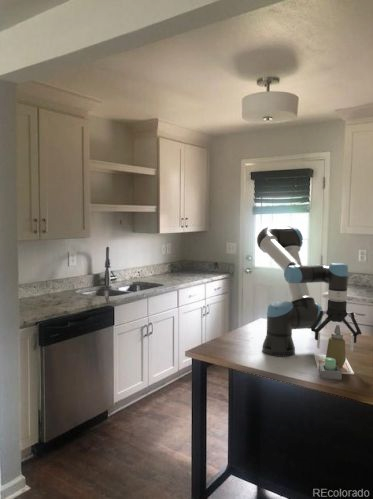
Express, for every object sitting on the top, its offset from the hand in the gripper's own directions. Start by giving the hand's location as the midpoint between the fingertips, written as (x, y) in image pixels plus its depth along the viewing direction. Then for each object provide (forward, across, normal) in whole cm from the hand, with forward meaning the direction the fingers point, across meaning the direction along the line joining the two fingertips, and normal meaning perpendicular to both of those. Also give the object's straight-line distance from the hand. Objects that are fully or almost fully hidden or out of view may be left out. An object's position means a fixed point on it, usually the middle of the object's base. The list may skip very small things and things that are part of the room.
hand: (334, 348), depth 181 cm
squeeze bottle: (+8, 0, 0) cm, 8 cm away
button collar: (+8, -3, -10) cm, 13 cm away
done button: (+7, -3, -10) cm, 12 cm away
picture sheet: (+8, 0, +4) cm, 9 cm away
